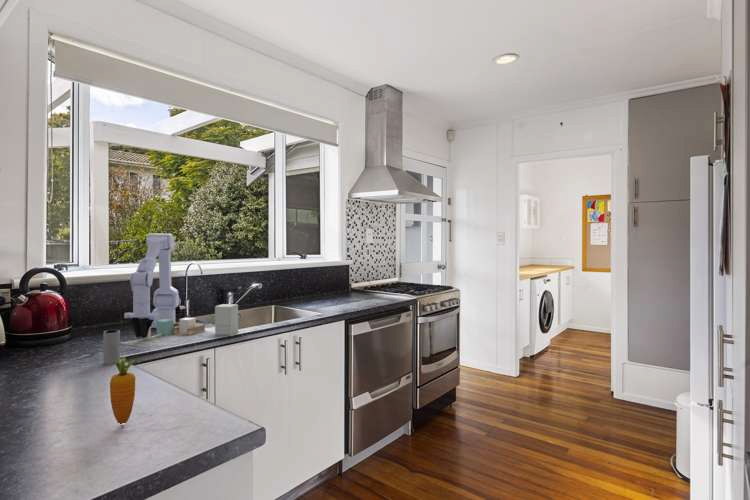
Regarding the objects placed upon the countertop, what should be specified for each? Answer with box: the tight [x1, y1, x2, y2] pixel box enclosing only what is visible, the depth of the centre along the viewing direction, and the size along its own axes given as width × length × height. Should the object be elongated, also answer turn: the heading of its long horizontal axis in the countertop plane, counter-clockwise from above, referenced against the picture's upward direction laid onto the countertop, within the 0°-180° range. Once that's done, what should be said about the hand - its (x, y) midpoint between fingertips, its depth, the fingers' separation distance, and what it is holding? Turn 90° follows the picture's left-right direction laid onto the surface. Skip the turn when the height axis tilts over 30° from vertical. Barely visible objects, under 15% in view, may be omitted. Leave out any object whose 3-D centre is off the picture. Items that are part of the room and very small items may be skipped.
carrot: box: [109, 357, 136, 424], centre depth 90 cm, size 5×5×15 cm
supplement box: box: [214, 303, 239, 337], centre depth 180 cm, size 7×7×13 cm
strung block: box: [143, 319, 174, 341], centre depth 172 cm, size 4×13×6 cm, turn 165°
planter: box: [102, 329, 121, 365], centre depth 137 cm, size 4×4×10 cm
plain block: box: [178, 317, 197, 334], centre depth 179 cm, size 4×4×6 cm
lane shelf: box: [172, 321, 206, 336], centre depth 181 cm, size 15×10×3 cm, turn 76°
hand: (141, 337), depth 164 cm, fingers closed
